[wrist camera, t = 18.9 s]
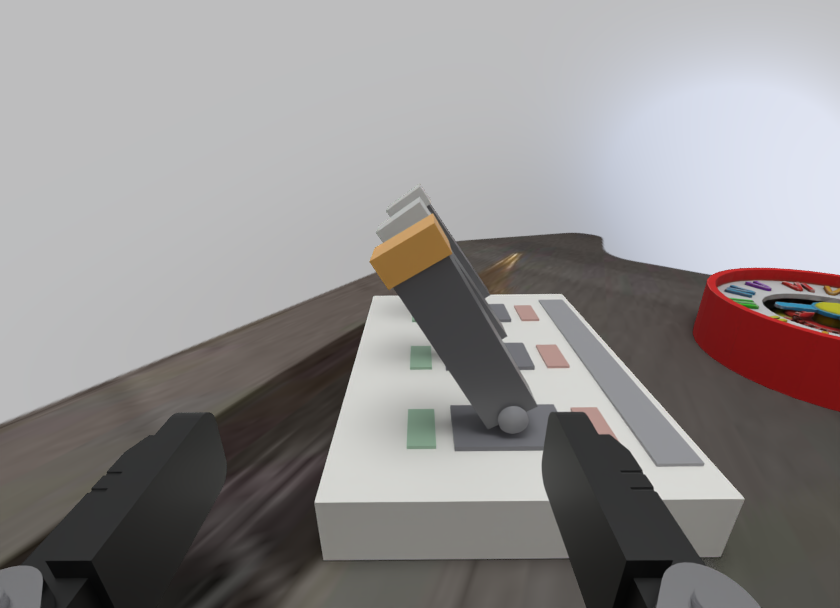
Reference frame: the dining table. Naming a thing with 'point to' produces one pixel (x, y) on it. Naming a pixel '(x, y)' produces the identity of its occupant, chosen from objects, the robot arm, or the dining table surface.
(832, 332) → the toy clock
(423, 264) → the lever
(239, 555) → the dining table surface
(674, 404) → the dining table surface
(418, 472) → the panel
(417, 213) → the breaker mid
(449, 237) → the lever
